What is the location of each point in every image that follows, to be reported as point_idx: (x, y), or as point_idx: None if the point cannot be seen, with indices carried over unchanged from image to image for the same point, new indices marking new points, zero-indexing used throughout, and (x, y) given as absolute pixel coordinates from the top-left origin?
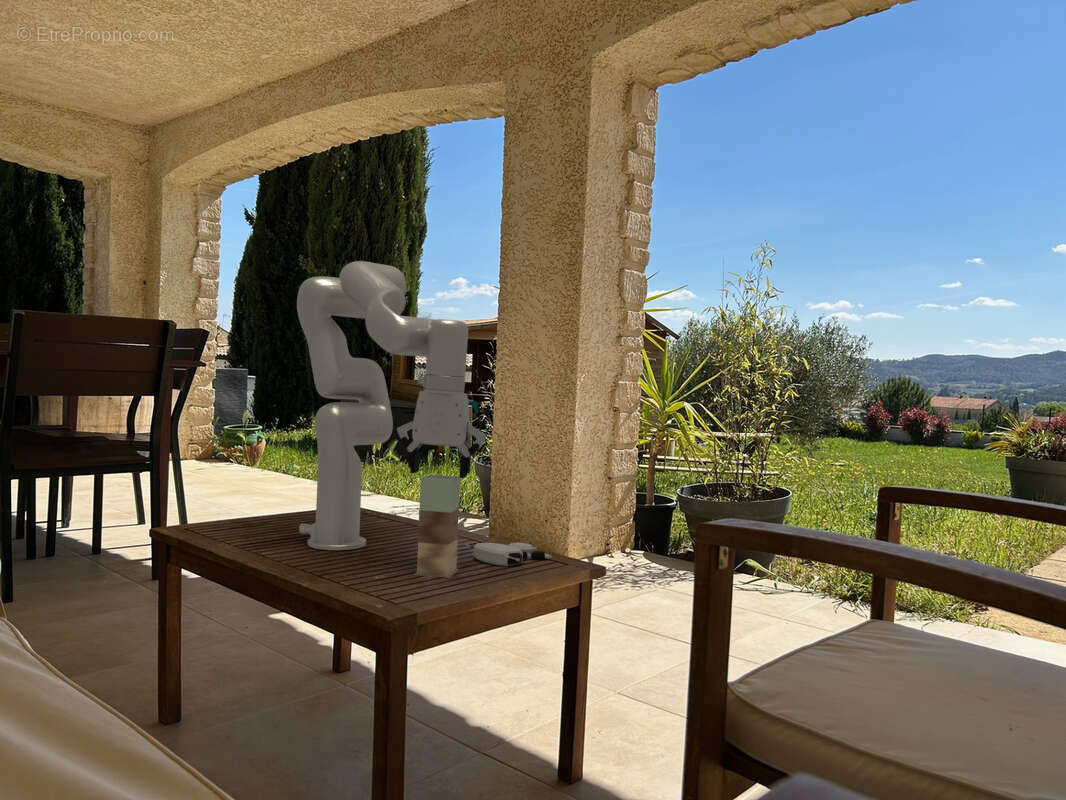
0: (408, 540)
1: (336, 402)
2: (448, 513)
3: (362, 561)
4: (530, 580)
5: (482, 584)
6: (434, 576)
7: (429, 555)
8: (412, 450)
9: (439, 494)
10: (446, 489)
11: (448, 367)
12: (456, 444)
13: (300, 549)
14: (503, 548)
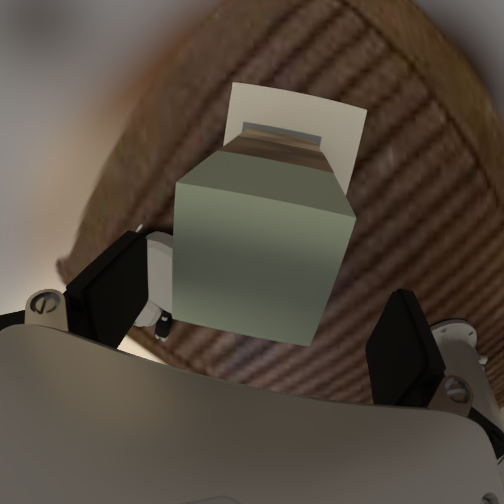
0: (337, 389)
1: None
2: (225, 151)
3: (416, 267)
4: (112, 182)
5: (183, 133)
6: (276, 127)
7: (289, 141)
8: (442, 383)
9: (253, 172)
10: (216, 173)
11: None
12: (34, 325)
13: (485, 318)
14: (155, 274)
